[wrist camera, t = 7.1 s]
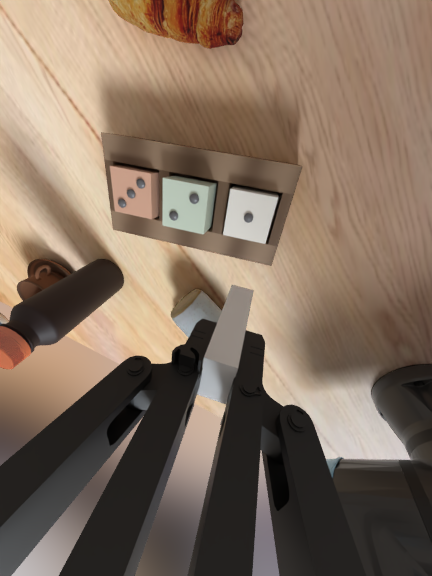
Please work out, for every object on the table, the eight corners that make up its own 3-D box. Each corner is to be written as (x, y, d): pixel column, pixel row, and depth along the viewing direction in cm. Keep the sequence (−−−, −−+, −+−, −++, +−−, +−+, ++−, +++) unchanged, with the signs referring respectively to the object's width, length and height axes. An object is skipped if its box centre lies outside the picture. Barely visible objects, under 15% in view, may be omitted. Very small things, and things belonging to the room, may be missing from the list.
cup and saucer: (26, 253, 43) (-7, 265, 38) (76, 258, 41) (47, 273, 36) (50, 301, 49) (24, 318, 44) (95, 309, 47) (72, 327, 42)
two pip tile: (216, 183, 24) (208, 186, 21) (211, 226, 27) (203, 235, 24) (175, 175, 25) (161, 177, 22) (174, 218, 28) (161, 225, 25)
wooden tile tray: (298, 165, 25) (302, 166, 21) (271, 251, 31) (271, 265, 27) (127, 136, 28) (101, 132, 24) (133, 220, 34) (113, 229, 30)
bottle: (88, 274, 42) (-35, 351, 25) (98, 250, 38) (-37, 321, 22) (117, 296, 43) (18, 382, 26) (130, 274, 39) (24, 359, 23)
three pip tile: (164, 171, 26) (149, 173, 23) (164, 213, 29) (151, 219, 26) (127, 165, 27) (108, 165, 24) (130, 206, 30) (113, 211, 27)
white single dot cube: (277, 193, 25) (278, 198, 22) (266, 234, 27) (265, 244, 24) (235, 185, 25) (230, 188, 22) (228, 226, 28) (222, 235, 25)
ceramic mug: (203, 279, 36) (187, 304, 30) (233, 311, 38) (224, 340, 32) (168, 306, 42) (149, 332, 36) (196, 333, 43) (182, 362, 37)
